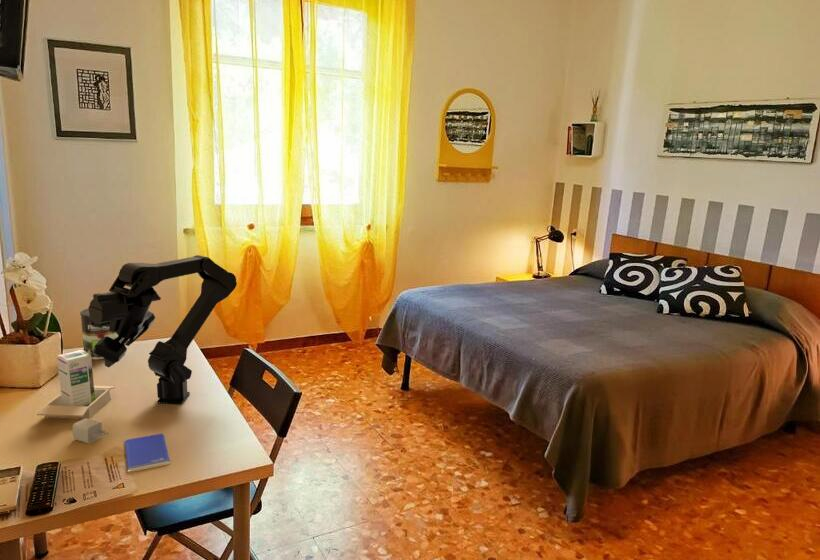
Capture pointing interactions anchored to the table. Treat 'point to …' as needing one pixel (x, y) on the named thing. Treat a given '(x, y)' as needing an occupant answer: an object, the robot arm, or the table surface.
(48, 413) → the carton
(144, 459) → the hard drive
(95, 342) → the coffee can
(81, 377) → the syrup box
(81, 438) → the usb wall charger
